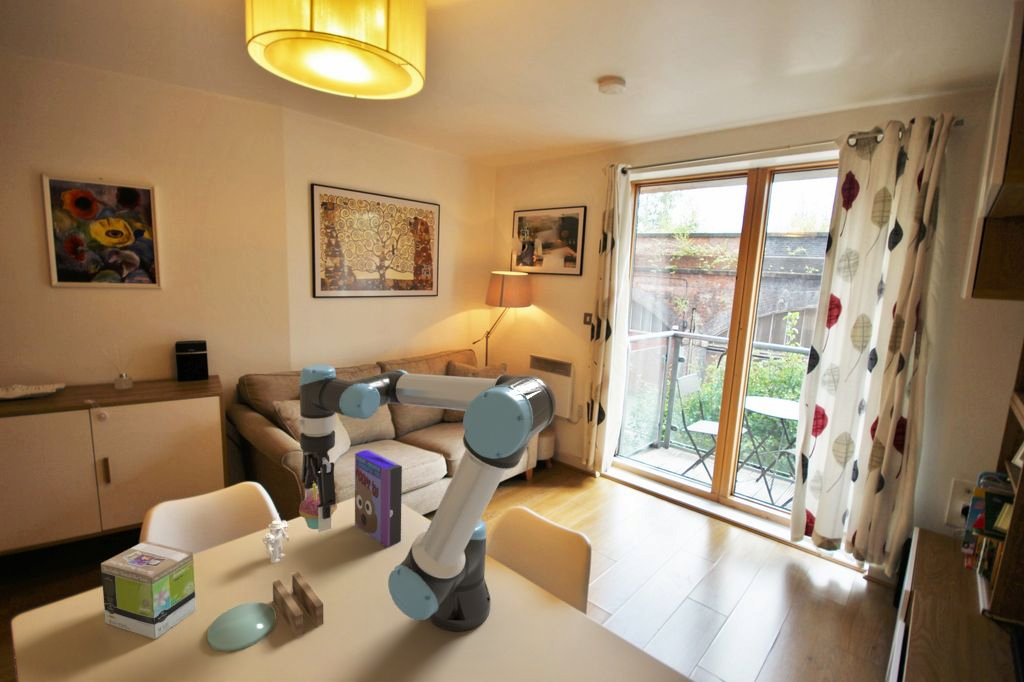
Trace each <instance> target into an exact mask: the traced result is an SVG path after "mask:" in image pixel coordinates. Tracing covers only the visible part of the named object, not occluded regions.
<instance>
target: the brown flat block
mask: <svg viewBox="0 0 1024 682" xmlns="http://www.w3.org/2000/svg"><path fill="white" fill-rule="evenodd" d="M291 580H292V581H291V582H292V586H291V587H292V588H291V589H292V594H293V595H294V596H295V598H296V600H297V601H298V602H299V604H300V605H301V606H302V608H303V609H304V611H305V612H306V614H307V615H308V617H309V618H310V619H311V621H312V622H313V623H314V625H315V626H316V627H317V628H318V627H319V626H322V625H323V624H324V602H323V601H322V600H321V598H319V596H318V595H317V594H316V592H315V591H314V590H313V588H312V587H311V586H310V584H309V583H308V582H307V581H306V580H305V578H304V576H303V575H301V573H300V572H299V571H297V572H295V573H292V574H291Z"/></svg>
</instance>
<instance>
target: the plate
mask: <svg viewBox="0 0 1024 682" xmlns="http://www.w3.org/2000/svg"><path fill="white" fill-rule="evenodd" d="M275 623H276V610H275V609H274V607H273V606H271V605H270V604H268V603H265V602H257V601H256V602H254V601H253V602H247V603H242V604H239V605H237V606H234V607H232V608H229V609H227V610H226V611H225V612H223V613H221V614H220V615H219V616H217V617H216V618H215V620H213V622H212V623H211V624H210V626H209V627H208V630H207V642H208V645H209V647H211V649H214V650H215V651H218V652H234V651H235V652H236V651H240V650H244V649H246V648H249V647H250V646H253V645H254V644H257V643H259V641H261V640H263V639H264V638H265V637H266V636H268V634H269V633H270V632H271V631H272V630H273V627H274V626H275Z"/></svg>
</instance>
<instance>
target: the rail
mask: <svg viewBox="0 0 1024 682" xmlns="http://www.w3.org/2000/svg"><path fill="white" fill-rule="evenodd" d="M272 602H273V603H274V605H275V606H276V608H277V610H278V611H279V613H280V614H281V615H282V618H283V619H284V621H285V622H286V624H287V625H288V627H289V628H290V629H291V632H292V633H293V634H294V636H295V638H297V637H300V636H301V635H304V613H303V611H302V610H301V609H300V607H299V606H298V604H297V603H296V601H295V599H294V598H293V597H292V596H291V594H290V593H289V591H288V589H286V587H285V585H284V584H283V583H282V581H281V580H280V579H277V580H274V581H272Z"/></svg>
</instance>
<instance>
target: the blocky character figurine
mask: <svg viewBox="0 0 1024 682" xmlns="http://www.w3.org/2000/svg"><path fill="white" fill-rule="evenodd" d="M279 515H280V513H279V512H278V513H277V516H276V517H274V520H272V522H271V523H270V524H268V529H269V532H267V533H266V534H264V536H263V537H262V542H263V544H264V545H265V549H266V554H267V556H271V557H270V563H271V564H278V563H279V564H280V562H281V559H283V558H285V556H286V554H285V553H283V549H284V548H283V543H282V538H283V539H284V541H287V542H289V540H290V536H288V534H287V533H286V532H285V531H288V530H289V528H290V525H289V524H288V522H287V520H282V521H280V520H279Z"/></svg>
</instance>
